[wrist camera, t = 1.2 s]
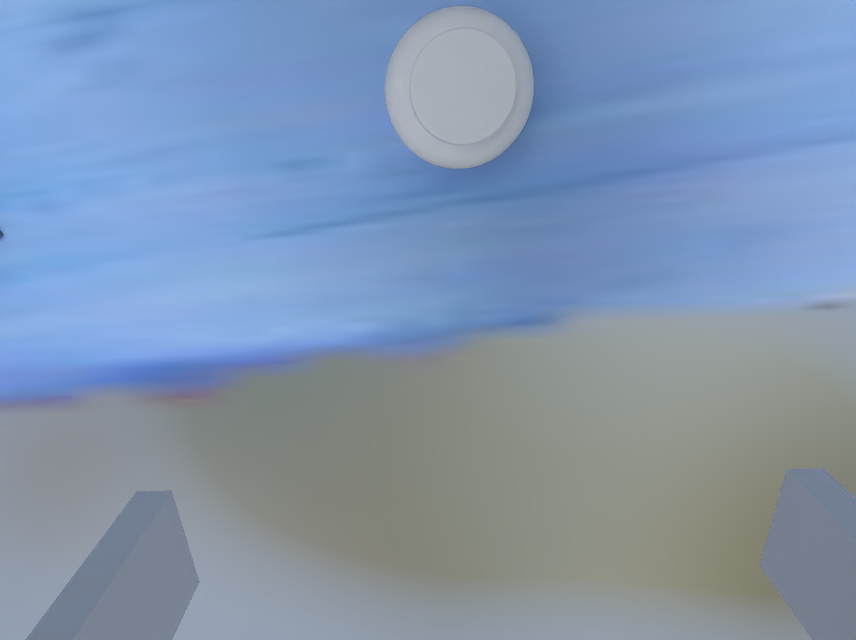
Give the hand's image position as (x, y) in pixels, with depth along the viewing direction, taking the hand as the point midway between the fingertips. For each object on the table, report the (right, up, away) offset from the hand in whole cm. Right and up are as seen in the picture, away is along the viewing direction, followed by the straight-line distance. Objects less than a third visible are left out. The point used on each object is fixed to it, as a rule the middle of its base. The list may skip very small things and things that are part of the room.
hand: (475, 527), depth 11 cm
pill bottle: (0, +20, +24) cm, 31 cm away
